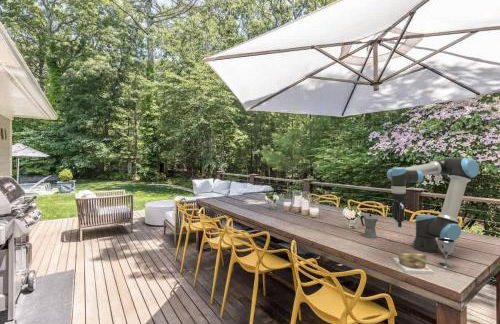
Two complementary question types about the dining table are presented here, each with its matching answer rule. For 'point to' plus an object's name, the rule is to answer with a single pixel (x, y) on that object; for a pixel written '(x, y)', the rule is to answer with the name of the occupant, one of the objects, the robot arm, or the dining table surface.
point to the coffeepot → (369, 226)
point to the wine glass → (446, 249)
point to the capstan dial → (412, 260)
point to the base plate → (414, 270)
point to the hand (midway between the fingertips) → (398, 231)
